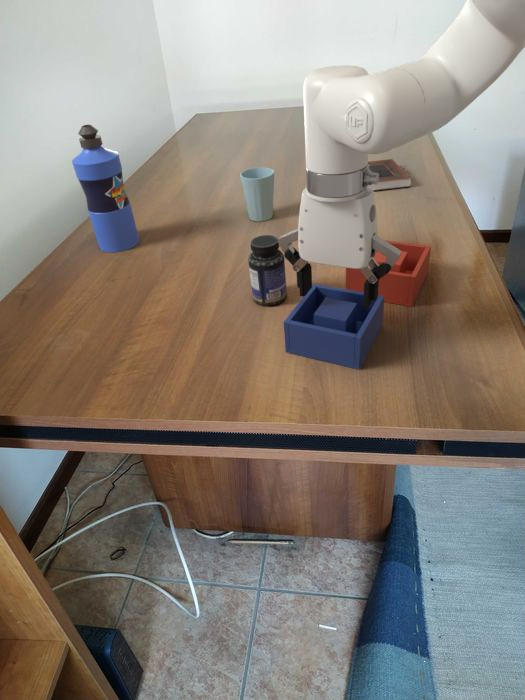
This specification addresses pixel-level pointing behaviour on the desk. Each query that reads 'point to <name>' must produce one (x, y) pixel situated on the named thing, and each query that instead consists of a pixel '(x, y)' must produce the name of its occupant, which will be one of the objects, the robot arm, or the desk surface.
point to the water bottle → (105, 193)
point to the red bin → (397, 276)
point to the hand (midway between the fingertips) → (336, 297)
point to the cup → (259, 192)
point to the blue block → (336, 315)
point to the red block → (398, 266)
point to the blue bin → (332, 342)
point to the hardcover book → (388, 175)
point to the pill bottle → (267, 271)
